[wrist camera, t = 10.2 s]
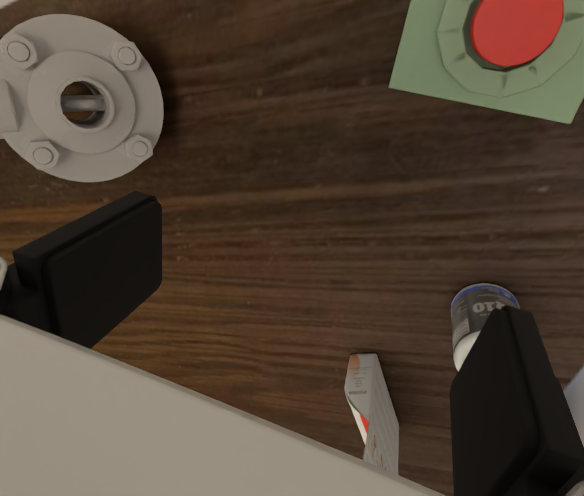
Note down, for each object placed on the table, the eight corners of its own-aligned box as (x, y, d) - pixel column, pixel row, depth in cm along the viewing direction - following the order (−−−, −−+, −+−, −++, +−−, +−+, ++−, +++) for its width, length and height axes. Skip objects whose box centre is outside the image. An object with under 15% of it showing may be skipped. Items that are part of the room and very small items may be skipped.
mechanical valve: (174, 176, 29) (-90, 205, 22) (127, 145, 43) (-45, 156, 36) (158, 19, 25) (-172, -9, 18) (111, 40, 39) (-86, 28, 32)
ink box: (375, 426, 39) (357, 552, 29) (349, 352, 36) (319, 467, 26) (404, 426, 38) (395, 558, 28) (380, 350, 35) (361, 469, 25)
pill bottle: (531, 293, 28) (564, 377, 21) (501, 340, 31) (522, 430, 24) (464, 272, 29) (475, 346, 22) (440, 320, 31) (443, 400, 24)
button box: (391, 84, 25) (385, 90, 22) (432, -74, 21) (433, -97, 18) (559, 117, 23) (581, 130, 20) (639, -50, 19) (684, -70, 16)
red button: (458, 57, 20) (460, 58, 19) (486, -26, 18) (491, -33, 17) (532, 70, 20) (540, 73, 18) (568, -15, 18) (581, -20, 16)
